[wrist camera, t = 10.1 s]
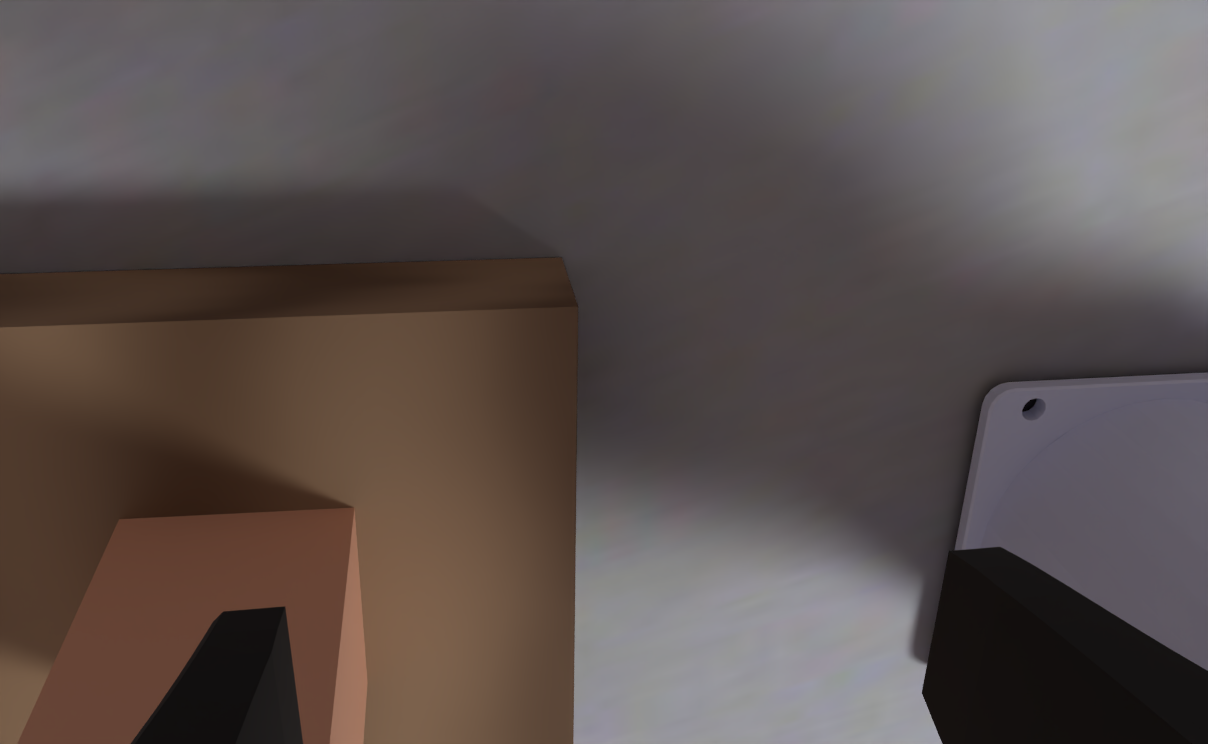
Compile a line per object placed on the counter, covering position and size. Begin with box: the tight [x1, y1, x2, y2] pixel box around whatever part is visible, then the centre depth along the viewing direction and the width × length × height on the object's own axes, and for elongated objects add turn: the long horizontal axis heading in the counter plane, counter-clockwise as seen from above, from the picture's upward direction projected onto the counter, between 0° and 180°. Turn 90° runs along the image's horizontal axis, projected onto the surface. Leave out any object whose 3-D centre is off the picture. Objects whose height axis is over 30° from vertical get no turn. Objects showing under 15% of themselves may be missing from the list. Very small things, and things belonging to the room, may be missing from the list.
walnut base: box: [0, 257, 578, 744], centre depth 21 cm, size 12×12×2 cm
